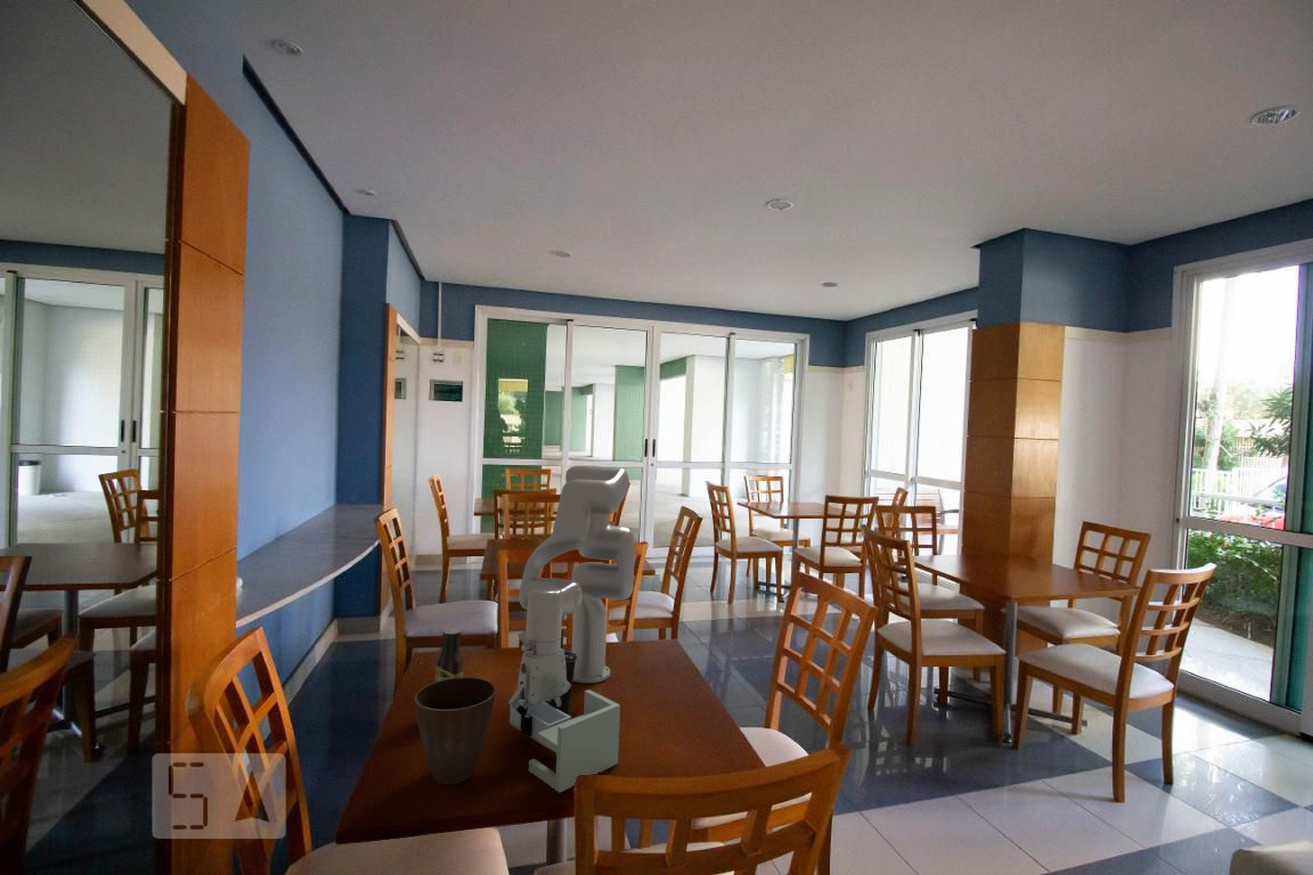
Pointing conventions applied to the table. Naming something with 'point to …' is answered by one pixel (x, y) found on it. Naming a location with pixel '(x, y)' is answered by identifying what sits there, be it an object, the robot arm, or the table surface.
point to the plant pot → (454, 725)
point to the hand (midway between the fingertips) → (539, 727)
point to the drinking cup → (567, 676)
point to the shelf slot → (581, 743)
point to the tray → (539, 718)
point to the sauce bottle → (450, 657)
